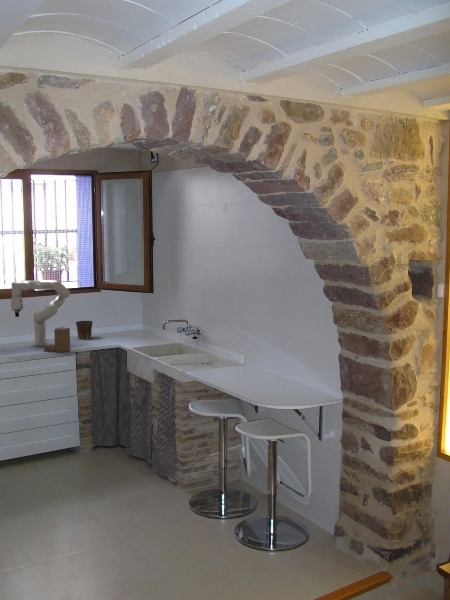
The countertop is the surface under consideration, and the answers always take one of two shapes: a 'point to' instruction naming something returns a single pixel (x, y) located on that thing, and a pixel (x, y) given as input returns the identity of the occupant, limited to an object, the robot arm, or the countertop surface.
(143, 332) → the countertop surface
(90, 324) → the plant pot
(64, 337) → the wooden block
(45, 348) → the walnut block
